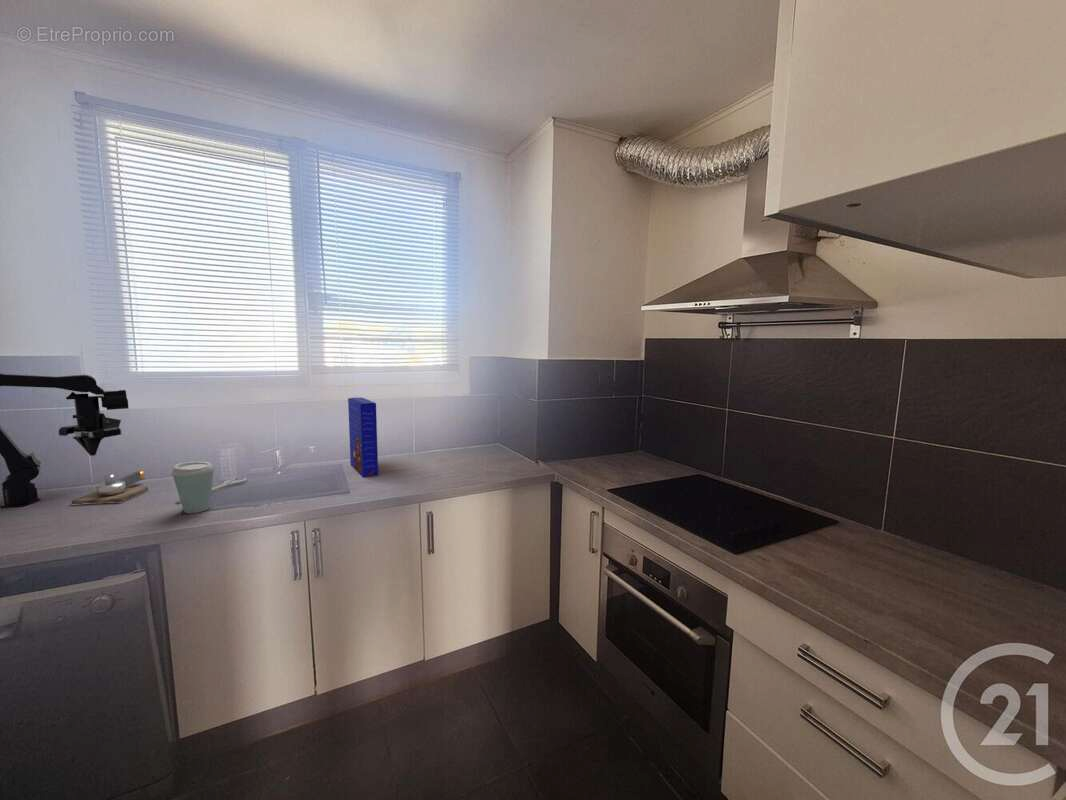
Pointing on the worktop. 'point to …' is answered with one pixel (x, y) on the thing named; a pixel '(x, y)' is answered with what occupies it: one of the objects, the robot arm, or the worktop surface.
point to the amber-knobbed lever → (118, 483)
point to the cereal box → (363, 436)
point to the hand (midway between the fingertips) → (92, 455)
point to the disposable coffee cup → (194, 485)
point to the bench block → (110, 496)
